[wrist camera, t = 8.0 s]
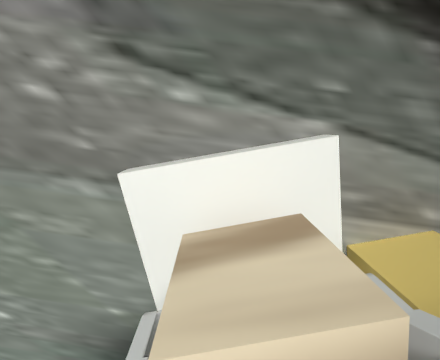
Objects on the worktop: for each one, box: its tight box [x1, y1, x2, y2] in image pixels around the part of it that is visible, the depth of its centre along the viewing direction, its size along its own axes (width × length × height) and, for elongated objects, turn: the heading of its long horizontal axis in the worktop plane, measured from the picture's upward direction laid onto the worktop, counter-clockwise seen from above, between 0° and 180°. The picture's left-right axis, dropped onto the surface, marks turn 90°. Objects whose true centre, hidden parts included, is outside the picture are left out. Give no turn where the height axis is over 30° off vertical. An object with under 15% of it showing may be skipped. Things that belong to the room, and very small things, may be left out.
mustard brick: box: [347, 231, 440, 318], centre depth 10 cm, size 5×5×5 cm
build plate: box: [117, 135, 342, 311], centre depth 11 cm, size 10×10×1 cm
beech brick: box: [148, 213, 410, 360], centre depth 7 cm, size 5×5×5 cm
